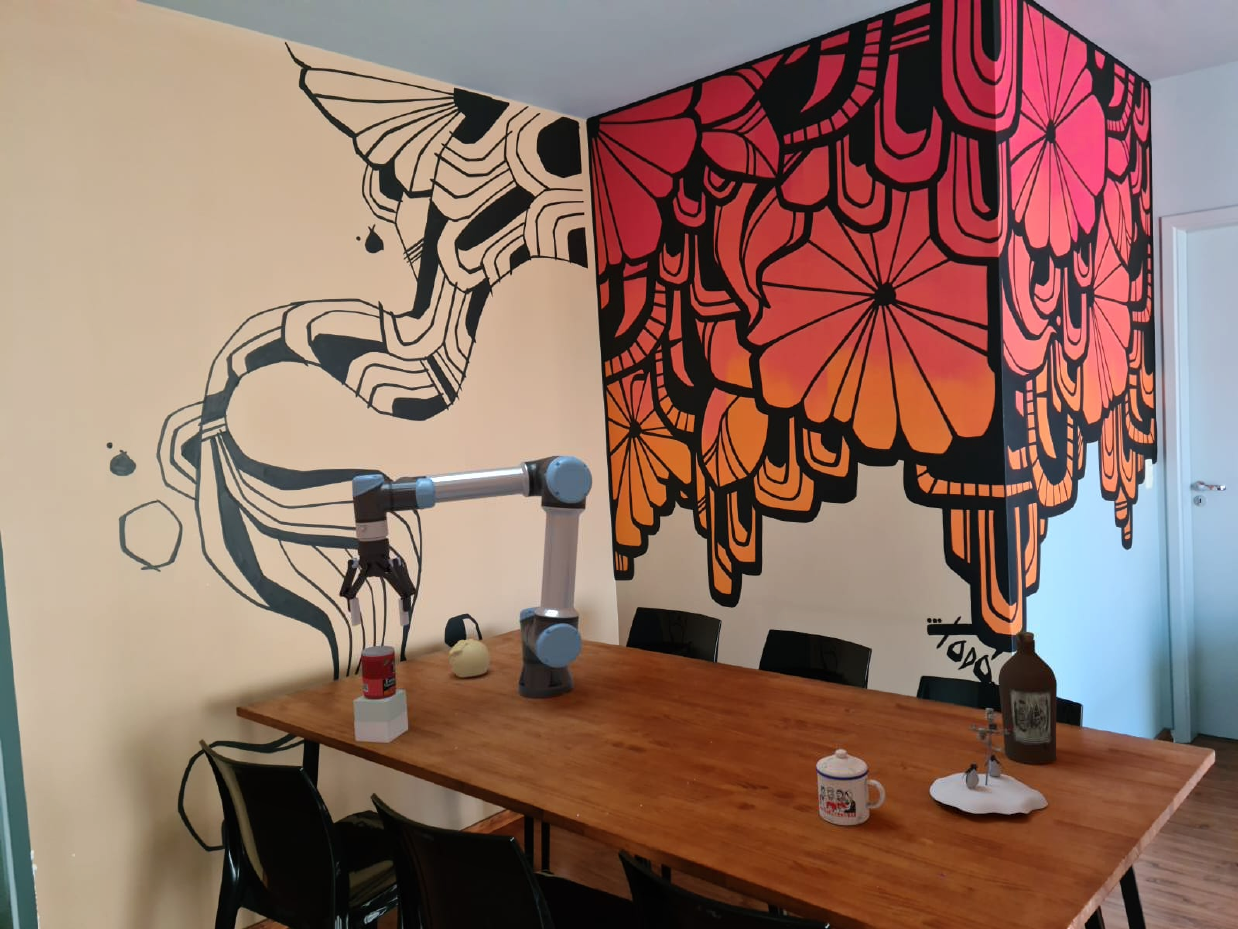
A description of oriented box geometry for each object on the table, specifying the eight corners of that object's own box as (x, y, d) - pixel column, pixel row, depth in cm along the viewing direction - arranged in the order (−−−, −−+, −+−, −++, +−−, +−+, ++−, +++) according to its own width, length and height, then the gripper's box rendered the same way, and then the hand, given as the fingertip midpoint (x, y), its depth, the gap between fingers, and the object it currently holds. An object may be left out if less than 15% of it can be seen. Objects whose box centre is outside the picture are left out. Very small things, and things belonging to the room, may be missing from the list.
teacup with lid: (810, 820, 154) (806, 755, 154) (829, 800, 162) (826, 738, 161) (877, 835, 147) (874, 767, 147) (894, 813, 155) (890, 749, 154)
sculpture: (457, 669, 266) (454, 635, 266) (495, 669, 265) (492, 634, 264) (444, 681, 255) (441, 645, 255) (484, 680, 253) (481, 643, 253)
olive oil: (998, 744, 182) (993, 626, 181) (1054, 747, 179) (1049, 627, 178) (1004, 764, 172) (999, 639, 171) (1064, 768, 169) (1059, 640, 168)
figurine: (984, 828, 145) (986, 730, 145) (907, 790, 162) (909, 703, 162) (1070, 812, 153) (1071, 719, 153) (988, 778, 170) (990, 694, 170)
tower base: (408, 729, 215) (406, 709, 215) (388, 743, 207) (386, 722, 207) (376, 728, 218) (374, 708, 218) (355, 741, 210) (354, 721, 209)
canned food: (389, 699, 208) (387, 654, 207) (357, 699, 209) (355, 654, 208) (401, 689, 215) (399, 645, 215) (370, 689, 216) (368, 645, 216)
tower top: (407, 709, 215) (405, 689, 215) (388, 722, 207) (387, 701, 206) (374, 709, 218) (372, 689, 217) (354, 721, 209) (353, 701, 209)
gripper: (319, 542, 212) (327, 628, 213) (409, 539, 204) (417, 628, 205) (338, 537, 219) (345, 621, 220) (426, 534, 211) (433, 621, 212)
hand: (380, 625), depth 213 cm, fingers open, 13 cm apart
